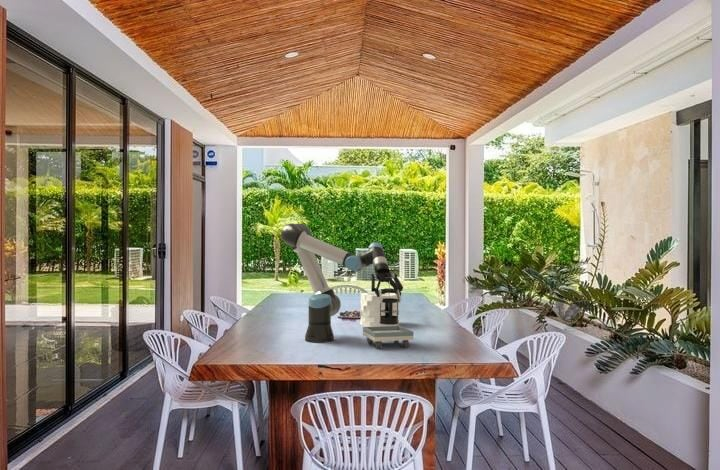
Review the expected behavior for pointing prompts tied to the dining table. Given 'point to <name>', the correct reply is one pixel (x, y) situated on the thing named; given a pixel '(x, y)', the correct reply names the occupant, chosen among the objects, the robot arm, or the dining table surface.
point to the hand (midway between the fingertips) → (390, 301)
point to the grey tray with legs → (387, 335)
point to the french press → (389, 307)
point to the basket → (374, 309)
